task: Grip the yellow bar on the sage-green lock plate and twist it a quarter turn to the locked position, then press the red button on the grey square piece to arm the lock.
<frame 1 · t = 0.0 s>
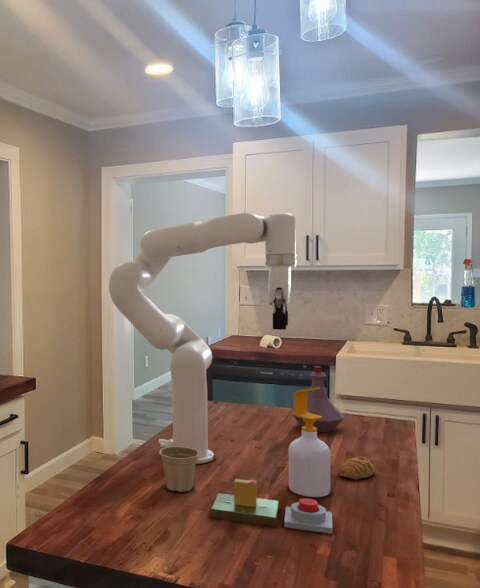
hand: (280, 327, 150), 37 cm above the countertop, tool pointing down, fingers open, 9 cm apart
soap bottle: (309, 491, 135), on the countertop
yellow bar: (245, 492, 123), point 5 cm above the countertop, hinge at 0.0°
flower pot: (179, 488, 138), on the countertop
pastry: (356, 475, 145), on the countertop
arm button: (308, 505, 118), point 3 cm above the countertop, slide at 0.1 cm
grey square piece: (308, 522, 119), on the countertop
lock plate: (245, 513, 123), on the countertop
flask: (317, 428, 187), on the countertop
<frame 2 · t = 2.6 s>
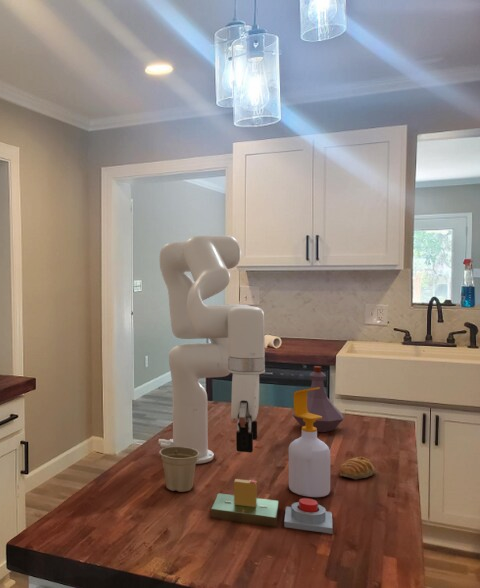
hand: (247, 444, 123), 15 cm above the countertop, tool pointing down, fingers open, 9 cm apart
nothing on the countertop moved.
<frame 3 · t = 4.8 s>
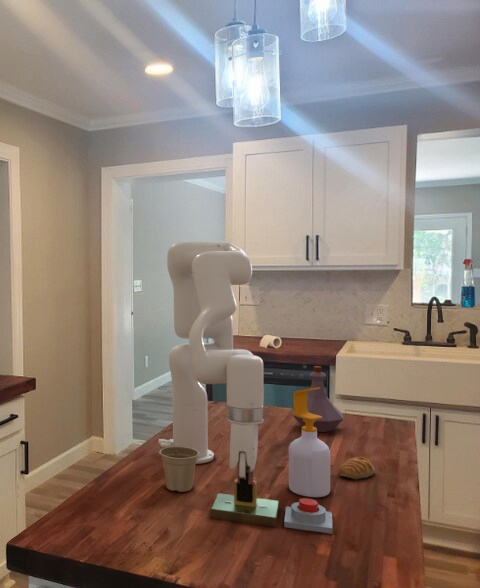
hand: (245, 498, 123), 3 cm above the countertop, tool pointing down, fingers closed on yellow bar, 2 cm apart
yellow bar: (245, 492, 123), point 5 cm above the countertop, hinge at 0.0°, touching gripper
everything else where it was.
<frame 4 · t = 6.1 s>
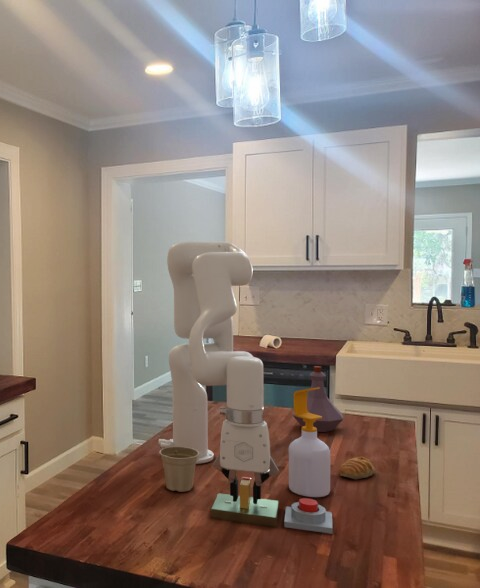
hand: (245, 499, 123), 3 cm above the countertop, tool pointing down, fingers open, 3 cm apart
yellow bar: (245, 492, 123), point 5 cm above the countertop, hinge at 89.9°
everything else where it was.
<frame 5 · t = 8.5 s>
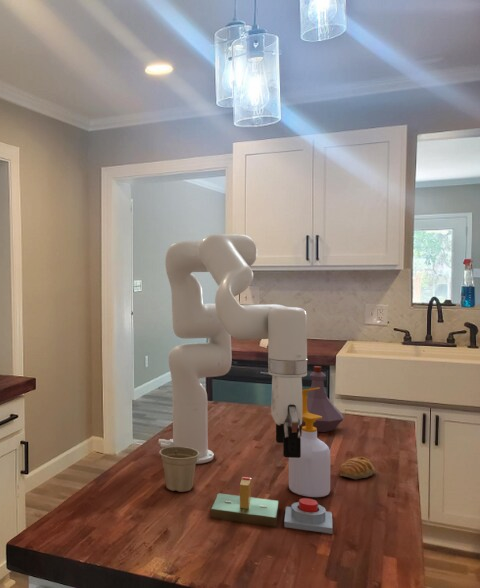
hand: (287, 449, 119), 15 cm above the countertop, tool pointing down, fingers open, 9 cm apart
nothing on the countertop moved.
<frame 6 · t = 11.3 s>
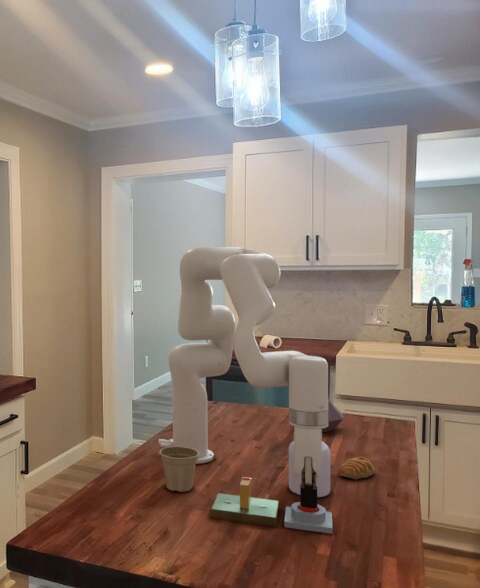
hand: (308, 505, 118), 4 cm above the countertop, tool pointing down, fingers closed
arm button: (308, 509, 118), point 3 cm above the countertop, slide at -0.7 cm, touching gripper
everything else where it was.
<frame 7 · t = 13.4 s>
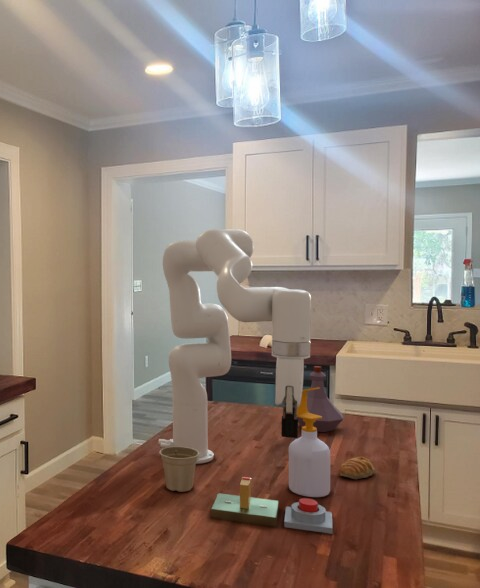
hand: (289, 436, 120), 17 cm above the countertop, tool pointing down, fingers closed
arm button: (308, 505, 118), point 3 cm above the countertop, slide at 0.1 cm
everything else where it was.
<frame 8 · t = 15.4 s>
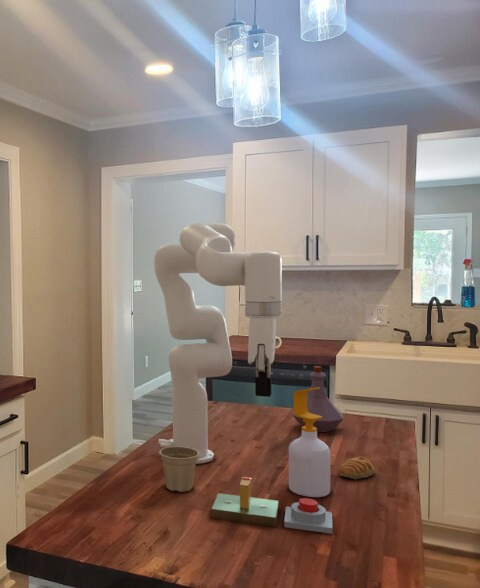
hand: (263, 395, 124), 25 cm above the countertop, tool pointing down, fingers closed
nothing on the countertop moved.
at the end: yellow bar at +90° (first picture: +0°); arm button pushed in 1.1 cm at the most during the clip and back out by the end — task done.
